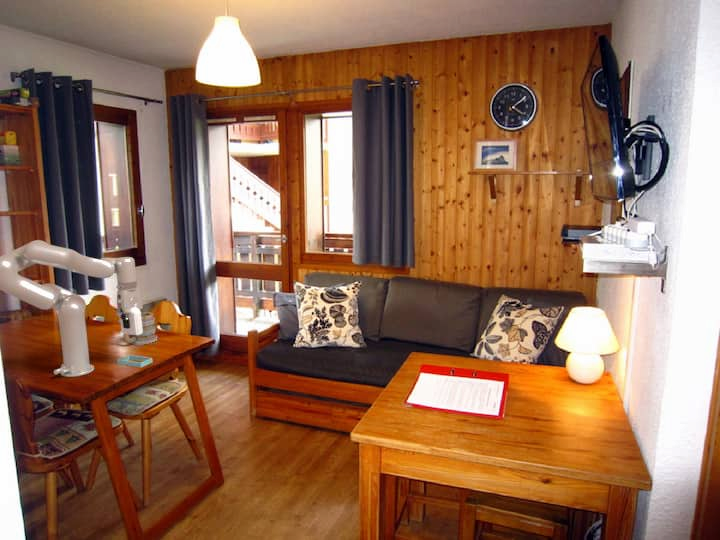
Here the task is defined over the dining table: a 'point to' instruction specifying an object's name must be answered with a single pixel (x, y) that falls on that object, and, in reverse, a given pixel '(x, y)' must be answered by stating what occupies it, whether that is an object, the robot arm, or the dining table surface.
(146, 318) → the tankard
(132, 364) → the slot frame
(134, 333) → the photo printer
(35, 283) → the robot arm
